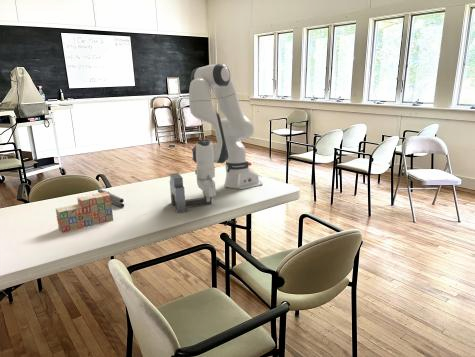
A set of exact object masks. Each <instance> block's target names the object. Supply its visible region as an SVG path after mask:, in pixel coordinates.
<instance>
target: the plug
mask: <svg viewBox="0 0 475 357" xmlns="http://www.w3.org/2000/svg"><path fill="white" fill-rule="evenodd" d="M211 204H213V197H210V202H207V201H206V197H204V196H202V197H198V198H197V197H196V198H188V199H185V207H186V208H191V207H197V206H205V205H211Z"/></svg>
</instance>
